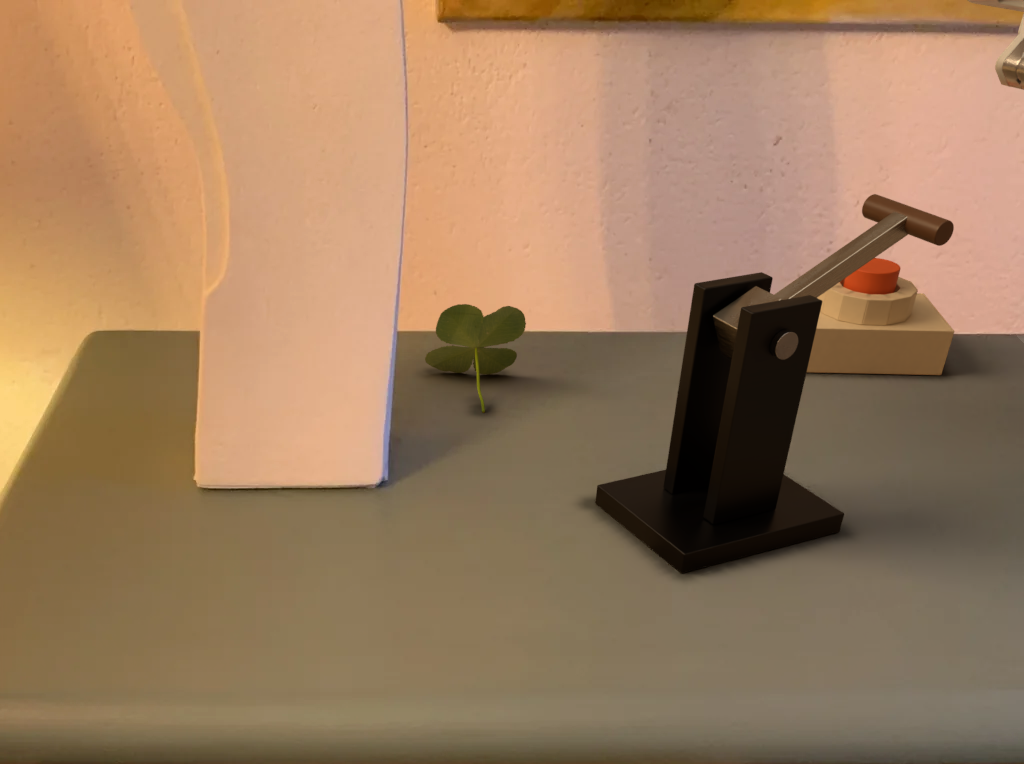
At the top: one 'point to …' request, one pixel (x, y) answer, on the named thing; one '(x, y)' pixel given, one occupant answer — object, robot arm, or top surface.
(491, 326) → the seedling
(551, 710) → the top surface
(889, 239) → the lever handle
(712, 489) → the black lever stand
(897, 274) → the button
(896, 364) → the button block
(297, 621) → the top surface
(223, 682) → the top surface
